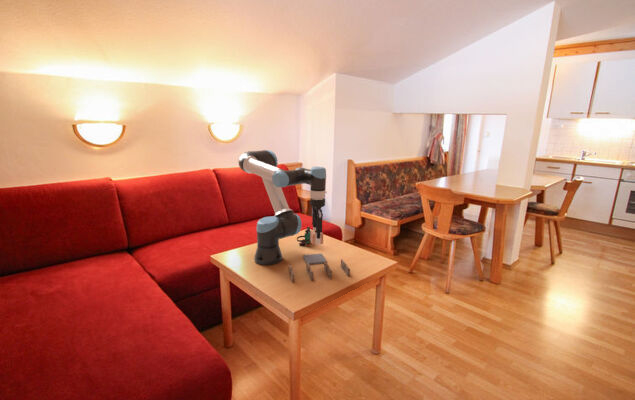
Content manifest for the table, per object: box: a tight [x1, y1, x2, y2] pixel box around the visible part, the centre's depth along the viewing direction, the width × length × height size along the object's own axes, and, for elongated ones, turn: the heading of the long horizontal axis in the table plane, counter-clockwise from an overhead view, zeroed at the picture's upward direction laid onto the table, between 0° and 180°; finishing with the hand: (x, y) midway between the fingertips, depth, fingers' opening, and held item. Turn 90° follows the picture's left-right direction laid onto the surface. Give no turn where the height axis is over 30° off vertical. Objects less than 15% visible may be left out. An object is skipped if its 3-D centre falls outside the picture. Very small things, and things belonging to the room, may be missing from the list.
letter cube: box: [310, 229, 324, 245], centre depth 164 cm, size 6×6×6 cm
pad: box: [302, 253, 328, 266], centre depth 177 cm, size 11×11×1 cm
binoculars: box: [296, 226, 312, 247], centre depth 198 cm, size 9×11×10 cm
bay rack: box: [288, 259, 351, 284], centre depth 160 cm, size 12×29×4 cm, turn 104°
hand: (316, 241), depth 165 cm, fingers closed on letter cube, 5 cm apart
